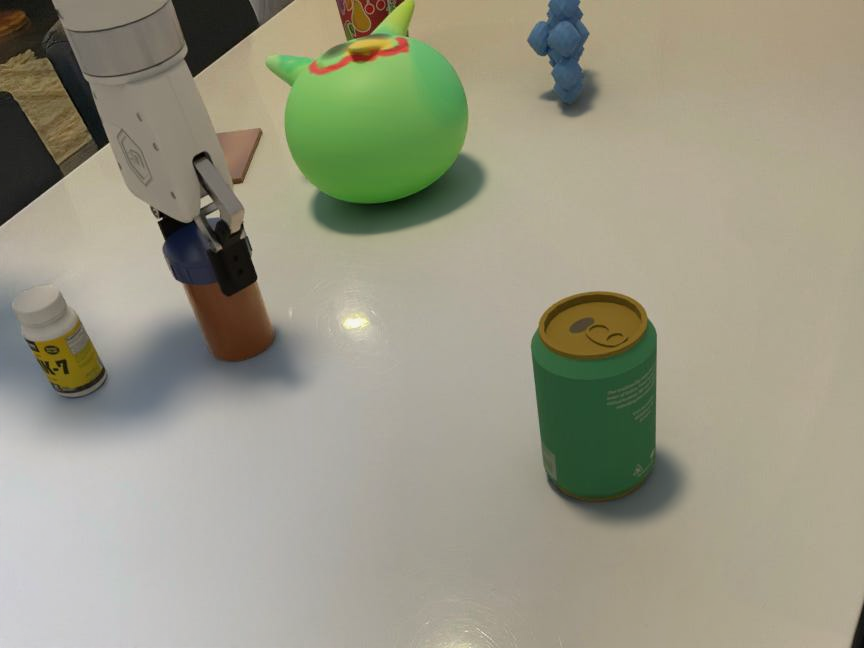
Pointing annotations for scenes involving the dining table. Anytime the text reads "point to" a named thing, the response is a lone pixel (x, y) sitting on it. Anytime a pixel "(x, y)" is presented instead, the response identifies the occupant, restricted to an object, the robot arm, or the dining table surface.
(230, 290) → the robot arm
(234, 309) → the jar
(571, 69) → the grapes
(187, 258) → the lid
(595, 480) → the beverage can
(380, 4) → the smoothie
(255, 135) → the coaster
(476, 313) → the dining table surface
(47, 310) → the supplement bottle
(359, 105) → the toy bird
